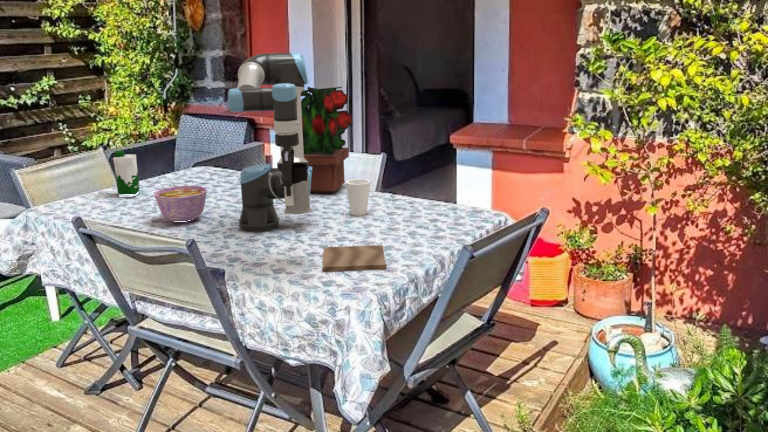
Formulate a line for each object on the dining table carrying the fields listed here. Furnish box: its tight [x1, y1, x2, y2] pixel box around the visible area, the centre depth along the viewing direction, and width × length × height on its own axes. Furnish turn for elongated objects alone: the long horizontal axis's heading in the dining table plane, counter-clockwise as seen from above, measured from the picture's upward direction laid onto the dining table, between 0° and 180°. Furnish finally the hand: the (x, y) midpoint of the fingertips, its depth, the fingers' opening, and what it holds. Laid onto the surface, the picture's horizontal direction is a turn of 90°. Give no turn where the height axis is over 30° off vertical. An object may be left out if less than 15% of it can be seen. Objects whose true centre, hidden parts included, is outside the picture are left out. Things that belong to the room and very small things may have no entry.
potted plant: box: [301, 86, 352, 195], centre depth 341 cm, size 22×22×45 cm
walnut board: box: [322, 244, 387, 273], centre depth 256 cm, size 20×20×2 cm
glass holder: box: [269, 163, 312, 215], centre depth 252 cm, size 9×14×15 cm, turn 124°
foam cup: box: [345, 178, 371, 217], centre depth 308 cm, size 10×9×13 cm
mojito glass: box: [112, 150, 140, 195], centre depth 343 cm, size 9×9×20 cm
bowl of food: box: [153, 185, 208, 222], centre depth 305 cm, size 20×20×12 cm
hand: (290, 201), depth 254 cm, fingers closed on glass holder, 8 cm apart
